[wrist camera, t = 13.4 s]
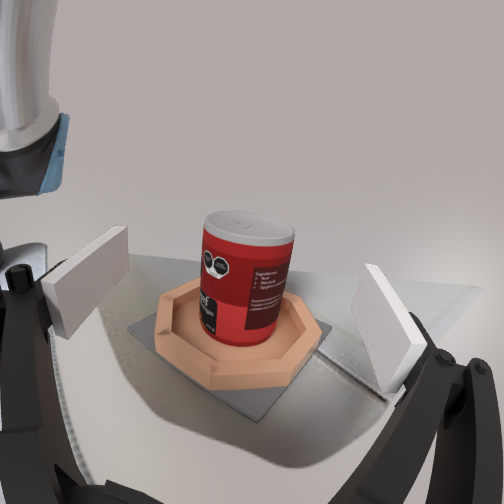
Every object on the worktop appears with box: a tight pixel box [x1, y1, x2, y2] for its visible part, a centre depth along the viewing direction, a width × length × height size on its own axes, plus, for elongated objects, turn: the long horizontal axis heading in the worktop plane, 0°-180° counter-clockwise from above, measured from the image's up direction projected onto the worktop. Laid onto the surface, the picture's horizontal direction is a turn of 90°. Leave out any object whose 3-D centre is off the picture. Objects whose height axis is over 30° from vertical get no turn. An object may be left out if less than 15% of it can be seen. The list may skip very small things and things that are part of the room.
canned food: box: [199, 211, 295, 347], centre depth 27 cm, size 8×8×11 cm
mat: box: [127, 313, 332, 423], centre depth 29 cm, size 16×16×1 cm
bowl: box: [154, 277, 322, 391], centre depth 28 cm, size 16×16×2 cm
